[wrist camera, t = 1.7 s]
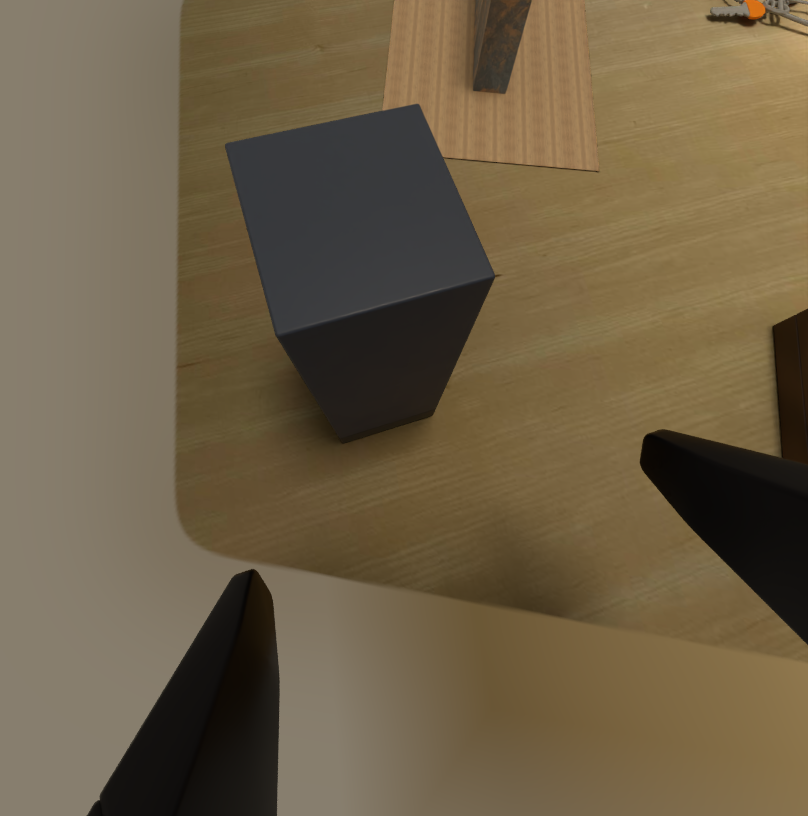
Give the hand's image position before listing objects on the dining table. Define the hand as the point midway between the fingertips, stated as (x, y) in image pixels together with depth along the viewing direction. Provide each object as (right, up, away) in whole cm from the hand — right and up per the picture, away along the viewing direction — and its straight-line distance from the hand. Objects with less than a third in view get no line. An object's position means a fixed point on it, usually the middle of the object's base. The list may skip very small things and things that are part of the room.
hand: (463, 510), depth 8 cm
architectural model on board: (+6, +32, +24) cm, 40 cm away
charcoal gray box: (-4, +6, +16) cm, 17 cm away
